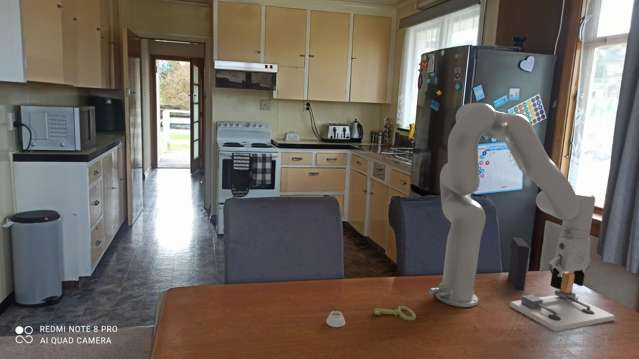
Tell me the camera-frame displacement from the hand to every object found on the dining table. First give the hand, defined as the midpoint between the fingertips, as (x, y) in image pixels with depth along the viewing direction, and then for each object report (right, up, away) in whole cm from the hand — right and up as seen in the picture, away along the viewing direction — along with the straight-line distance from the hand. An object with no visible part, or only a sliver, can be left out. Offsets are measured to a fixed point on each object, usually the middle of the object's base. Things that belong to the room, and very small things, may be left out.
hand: (566, 286), depth 140 cm
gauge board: (-4, -7, -5) cm, 10 cm away
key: (-55, -6, -13) cm, 57 cm away
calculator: (-8, -3, +17) cm, 19 cm away
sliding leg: (+1, -5, -2) cm, 5 cm away
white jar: (-72, -5, -20) cm, 75 cm away
